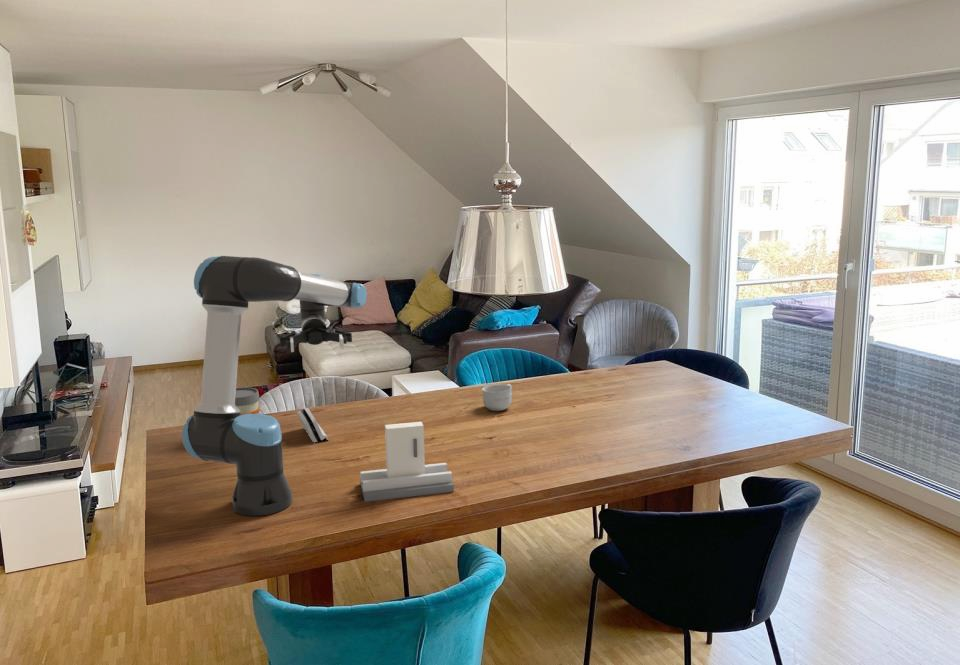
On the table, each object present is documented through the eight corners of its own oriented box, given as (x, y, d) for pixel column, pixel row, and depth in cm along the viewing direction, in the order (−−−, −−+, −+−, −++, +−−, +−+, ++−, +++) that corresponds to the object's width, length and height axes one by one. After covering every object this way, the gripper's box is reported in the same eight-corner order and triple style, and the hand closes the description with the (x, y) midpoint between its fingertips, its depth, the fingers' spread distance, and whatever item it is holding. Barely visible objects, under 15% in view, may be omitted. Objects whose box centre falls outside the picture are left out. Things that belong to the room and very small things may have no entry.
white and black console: (329, 441, 247) (317, 414, 244) (316, 448, 246) (303, 421, 242) (318, 425, 262) (306, 400, 259) (305, 432, 261) (293, 407, 257)
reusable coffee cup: (221, 444, 245) (217, 399, 242) (223, 432, 257) (219, 389, 254) (262, 440, 249) (259, 396, 246) (261, 428, 260) (258, 385, 257)
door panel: (389, 486, 206) (386, 430, 203) (387, 480, 210) (384, 424, 207) (425, 482, 209) (424, 426, 205) (422, 476, 213) (421, 421, 209)
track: (364, 501, 202) (364, 485, 201) (360, 484, 213) (359, 468, 212) (453, 491, 207) (453, 476, 206) (444, 474, 219) (444, 460, 218)
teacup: (495, 415, 271) (495, 393, 270) (476, 408, 279) (475, 387, 278) (524, 407, 280) (524, 386, 278) (504, 400, 288) (504, 380, 286)
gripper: (356, 339, 236) (363, 355, 216) (272, 345, 230) (271, 361, 210) (355, 315, 235) (362, 329, 214) (271, 320, 229) (269, 335, 208)
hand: (317, 345), depth 212 cm, fingers open, 13 cm apart
